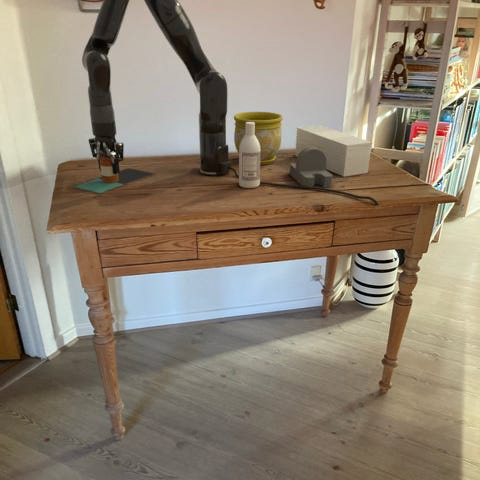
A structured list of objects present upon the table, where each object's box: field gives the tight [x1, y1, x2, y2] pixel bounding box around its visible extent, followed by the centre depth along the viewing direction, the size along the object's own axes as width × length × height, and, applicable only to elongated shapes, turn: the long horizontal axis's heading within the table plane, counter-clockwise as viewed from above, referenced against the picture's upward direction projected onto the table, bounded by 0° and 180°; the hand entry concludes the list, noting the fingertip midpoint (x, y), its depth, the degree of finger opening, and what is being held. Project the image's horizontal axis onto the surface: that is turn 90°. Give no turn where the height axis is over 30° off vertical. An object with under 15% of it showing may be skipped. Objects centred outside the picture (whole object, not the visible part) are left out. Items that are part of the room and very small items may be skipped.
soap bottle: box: [100, 151, 119, 183], centre depth 174 cm, size 6×6×10 cm
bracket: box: [289, 147, 334, 188], centre depth 177 cm, size 10×18×11 cm, turn 13°
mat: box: [73, 168, 154, 195], centre depth 178 cm, size 12×26×1 cm, turn 147°
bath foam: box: [238, 122, 261, 189], centre depth 169 cm, size 7×7×20 cm
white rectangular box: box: [294, 124, 373, 178], centre depth 195 cm, size 32×11×11 cm, turn 27°
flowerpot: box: [233, 111, 284, 166], centre depth 197 cm, size 18×18×16 cm
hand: (109, 172), depth 175 cm, fingers closed on soap bottle, 5 cm apart
